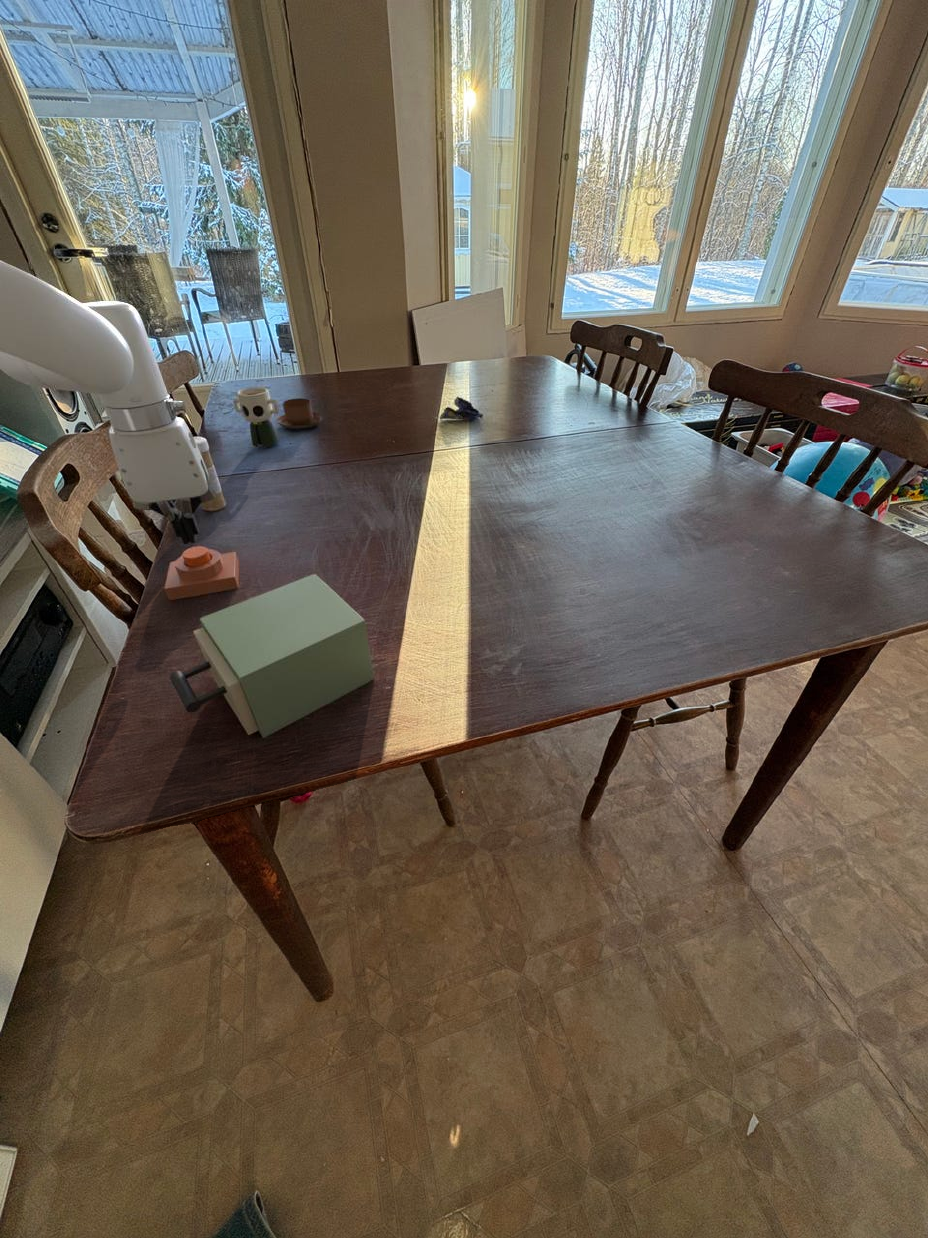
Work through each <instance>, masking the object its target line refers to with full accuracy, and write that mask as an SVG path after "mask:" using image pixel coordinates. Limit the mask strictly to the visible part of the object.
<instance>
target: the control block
mask: <svg viewBox="0 0 928 1238" xmlns="http://www.w3.org/2000/svg"><path fill="white" fill-rule="evenodd" d="M207 550H208V552H209V555H210V558H211V560H210V561H209V562H208V563H206V564H204V565H202V566H197V567H188V566H187V565H186V563H185V561H184V558H183V555H182V554H181V555H180V556H179V557H178V558H177V559H175V560H174V561H170V562H169V565H168V570H167V575H166V578H165V579H166V580H165V584H164V589H163V590H164V592H165V594H166V596H167V598H168V601H174V600H180V599H186V598H191V597H197V596H202V595H209V594H214V593H215V594H216V593H220V592H225V591H226V592H227V591H232V590H237V589H239V586H240V585H239V579H240V575H239V574H240V561H239V558H238V555H237V552H236V551H232V552H225V553H220V552H219V551H217V550H216V549H210V548H207Z"/></svg>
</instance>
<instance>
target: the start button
mask: <svg viewBox="0 0 928 1238" xmlns="http://www.w3.org/2000/svg"><path fill="white" fill-rule="evenodd" d="M207 549H208V548H207V547H206V546H203V545H202V546H201V545H199V546H198V545H197V546H192V547H189V548H187V549H185V550H184V551H183V552H182V554H181V556H182V555H183V558H184V561H185V563H186V565H187V566H188V567H197V566H202V565H204V564H206V563H208V562H209V561H210V560H211V558H210V555H209V552H208V550H207Z"/></svg>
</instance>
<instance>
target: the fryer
mask: <svg viewBox="0 0 928 1238" xmlns="http://www.w3.org/2000/svg"><path fill="white" fill-rule="evenodd" d="M199 621H200V623H201V626H202V628H203V627H204V629H205V630H206V632H207V633H208V635H209V636H210V638H211V639H212V641H213V642H214V644H215V645H216V647H217V648H218V650H219V651H220V653H221V654H222V656H223V657H224V659H225V660H226V662H227V663H228V665H229V666H230V668H231V669H232V671H233V672H234V674H235V675H236V677H237V678H238V680H239V681H240V683H241V686H242V688H243V691H244V693H245V696H246V698H247V701H248V704H249V706H250V709H251V711H252V714H253V716H254V719H255V721H256V724H257V726H258V729H259V730H258V731H257V732H258V733H259V734H260V736H261V737H262V739H264V738H265V739H266V738H267V737H268V736H271V735H272V734H274V733H276V732H278V731H280V730H281V729H283V728H285V727H287V726H289V725H291V724H293V723H294V722H297V721H299V720H300V719H302V718H304V717H306V716H308V715H309V714H312V713H314V712H316V711H317V710H319V709H321V708H323V707H325V706H327V705H329V704H330V703H332V702H334V701H336V700H338V699H340V698H341V697H344V696H345V695H348V694H349V693H351V692H353V691H354V690H357V689H358V688H361V687H362V686H364V685H366V684H368V683H370V682H371V681H374V680H375V673H374V667H373V662H372V661H373V660H372V656H371V650H370V643H369V637H368V629H367V625H366V620H365V619H364V618H363V617H362V616H361V615H360V614H359V613H358V612H357V611H356V610H355V609H353V608H352V607H351V606H350V605H349V603H347V602H346V601H345V600H344V599H343V598H342V597H340V595H338V593H336V592H335V591H334V590H333V589H332V588H331V587H330V586H329V585H328V584H327V583H326V582H325V581H323V580H322V578H320V577H319V576H318V575H317V574H316V573H313V574H310V575H308V576H305V577H302V578H300V579H297V580H295V581H293V582H290V583H287V584H285V585H282V586H280V587H277V588H275V589H272V590H269V591H267V592H265V593H261V594H259V595H256V596H254V597H251V598H249V599H246V600H243V601H241V602H237V603H235V604H234V605H231V606H228V607H226V608H223V609H220V610H218V611H215V612H212V613H209V614H207V615H204V616H202V617H200V618H199Z"/></svg>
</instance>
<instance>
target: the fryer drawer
mask: <svg viewBox="0 0 928 1238" xmlns="http://www.w3.org/2000/svg"><path fill="white" fill-rule="evenodd" d="M192 631H193V632H192V633H193V635H194V637H195V640H196V642H197V645H198V646H199V648H200V651H201V653H202V655H203V658H204V660H205V662H203V663H202V664H199V665H197V666H195V667H192V668H190V669H187V670H186V671H181V670H175V671H173V672H172V673H170V676H169V679H170V681H171V683H172V686H173V687H174V689H175V692H176V693H177V695H178V697H179V698H180V700H181V702H182V705H183V706H184V708H185V711H186V712H187V713H191V714H192V713H193V714H194V713H196V712H198V711H199V710H200V709H201V706H202V705H203V704H206V703H207V702H210V701H212V700H214V699H216V698H219V697H221V696H222V695H223V697H224V698H225V700H226V702H227V703H228V704H229V706H230V708H231V709H232V711H233V713H234V714H235V716H236V718H237V719H238V721H239V722H240V724H241V726H242V728H243V729H244V730H245V732H246V734H247V735H248V736H250V735H253V734H254V733H256V732H259V731H258V730H259V729H258V726H257V724H256V721H255V719H254V716H253V714H252V711H251V709H250V706H249V704H248V701H247V698H246V696H245V693H244V691H243V688H242V686H241V683H240V681H239V680H238V678H237V677H236V675H235V674H234V672H233V671H232V669H231V668H230V666H229V665H228V663H227V662H226V660H225V659H224V657H223V656H222V654H221V653H220V651H219V650H218V648H217V647H216V645H215V644H214V642H213V641H212V639H211V638H210V636H209V635H208V633H207V632H206V630H205V629H204V627H203V626H202V627H201V628H198V629H195V630H192ZM207 670H209V671H210V674H211V676H212V678H213V680H214V682H215V684H216V685H217V687H218V688H216V689H214V690H212V691H209V692H208V693H205V694H203V695H201V696H199V697H197V695H196V693H195V691H194V690H193V687H192V686H191V683H189V681H188V679H190V678H192V677H194V676H196V675H199V674H201V673H203V672H205V671H207Z"/></svg>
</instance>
